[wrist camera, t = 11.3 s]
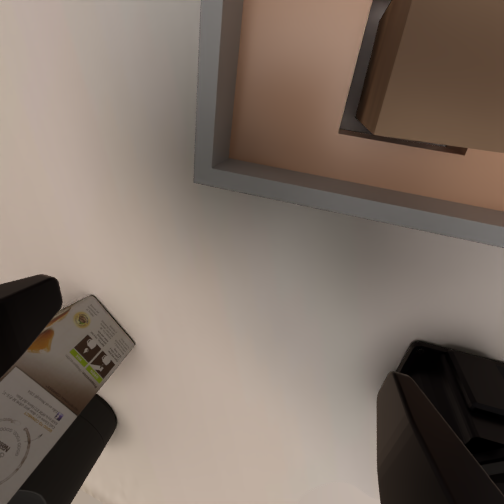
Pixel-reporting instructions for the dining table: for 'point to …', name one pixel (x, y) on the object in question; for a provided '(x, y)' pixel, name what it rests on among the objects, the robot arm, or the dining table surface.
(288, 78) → the box
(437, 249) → the dining table surface
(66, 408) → the coffee box
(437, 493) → the robot arm
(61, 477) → the pen holder
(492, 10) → the walnut peg
